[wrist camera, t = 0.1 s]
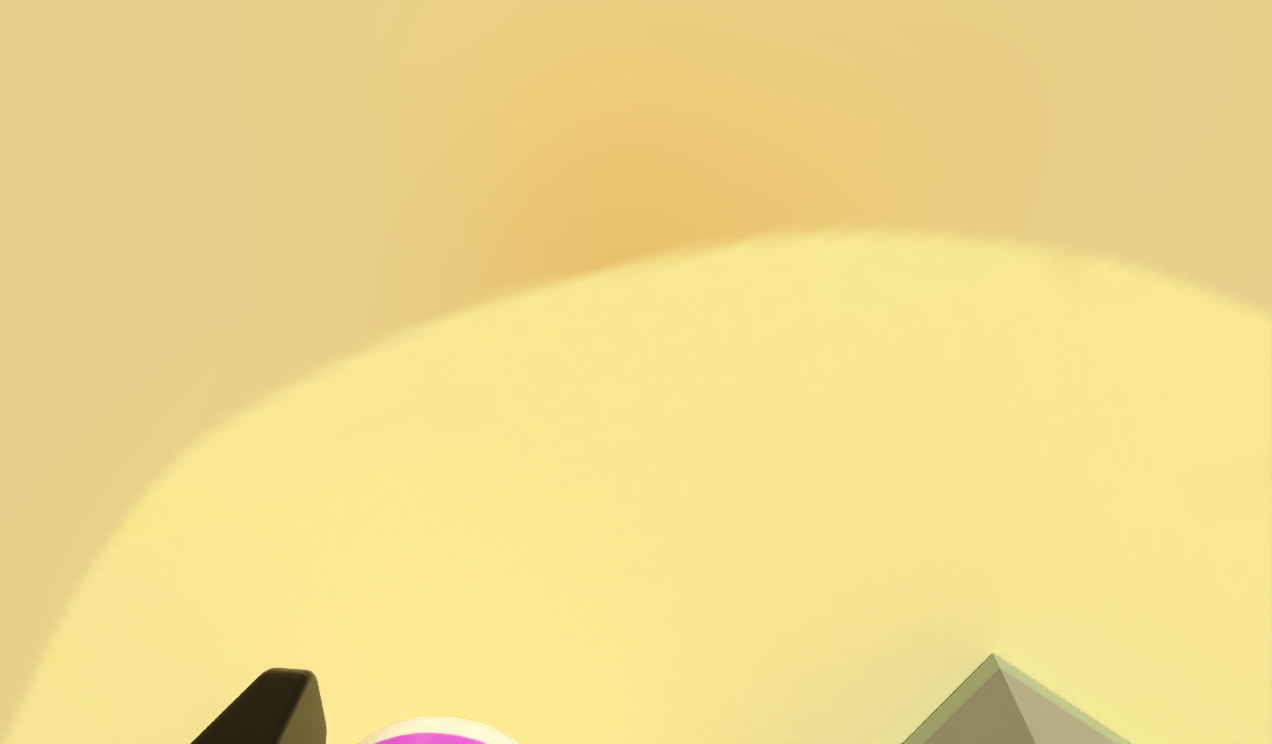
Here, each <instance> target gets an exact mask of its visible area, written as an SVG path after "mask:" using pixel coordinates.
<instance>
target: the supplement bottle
mask: <svg viewBox="0 0 1272 744" xmlns="http://www.w3.org/2000/svg"><path fill="white" fill-rule="evenodd" d="M359 744H521V743H519V742H518V741H517V740H515V739H514V738H512V737H511V736H509V735H508V734H506V733H504V732H502V731H500V730H498V729H496V728H494V727H491V726H489V725H486V724H484V723H481V722H478V721H474V720H470V719H465V718H460V717H452V716H421V717H414V718H409V719H405V720H401V721H398V722H395V723H393V724H390V725H388V726H385V727H383V728H381V729H379V730H377V731H375V732H374V733H372V734H370V735H369V736H367V737H366V738H365V739H363V740H362V741H361V742H360V743H359Z"/></svg>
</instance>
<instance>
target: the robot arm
mask: <svg viewBox="0 0 1272 744" xmlns="http://www.w3.org/2000/svg"><path fill="white" fill-rule="evenodd" d="M191 744H326V722H325V717H324V712H323V707H322V702H321V696H320V691H319V686H318V681H317V679H316V676H315V675H314V674H313V673H312V672H311V671H309V670H301V669H288V668H271V669H269V670H267V671H265V672H264V673H262V674H261V675H260V676H259V677H258V678H257V679H256V680H255V681H254V682H253V683H252V684H251V685H250V686H249V687H248V688H247V689H246V690H245V691H244V692H243V693H242V694H241V695H240V696H239V697H237V698H236V699H235V700H234V701H233V702H232V703H231V704H230V705H229V706H228V707H227V708H226V709H225V710H224V711H223V712H222V713H221V714H220V715H219V716H218V717H217V718H216V719H215V720H214V721H213V722H212V723H211V724H210V725H209V726H208V727H207V728H206V729H205V730H204V731H203V732H202V733H201V734H200V735H199V736H198V737H197V738H196V739H195V740H194V741H193V742H192V743H191Z"/></svg>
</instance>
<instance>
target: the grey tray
mask: <svg viewBox="0 0 1272 744" xmlns="http://www.w3.org/2000/svg"><path fill="white" fill-rule="evenodd" d="M903 744H1130V743H1129V742H1127V741H1126V740H1124V739H1123V738H1121V737H1120V736H1118V735H1117V734H1115V733H1113V732H1112V731H1110V730H1109V729H1107V728H1106V727H1104V726H1103V725H1101V724H1100V723H1098V722H1097V721H1095V720H1094V719H1092V718H1091V717H1089V716H1088V715H1086V714H1084V713H1083V712H1081V711H1080V710H1078V709H1077V708H1075V707H1074V706H1072V705H1071V704H1069V703H1068V702H1066V701H1065V700H1063V699H1062V698H1060V697H1059V696H1057V695H1056V694H1054V693H1052V692H1051V691H1049V690H1048V689H1046V688H1045V687H1043V686H1042V685H1040V684H1039V683H1037V682H1036V681H1034V680H1033V679H1031V678H1030V677H1028V676H1027V675H1025V674H1024V673H1022V672H1020V671H1019V670H1017V669H1016V668H1014V667H1013V666H1011V665H1010V664H1008V663H1007V662H1005V661H1004V660H1002V659H1001V658H999V657H998V656H996V655H995V654H992V655H991V656H990V657H989V658H988V659H987V660H986V661H985V662H984V663H983V664H982V665H981V666H980V667H979V668H978V669H977V670H976V671H975V672H974V673H973V674H972V675H971V676H970V677H969V678H968V679H967V680H966V681H965V682H964V683H963V684H962V685H961V686H960V687H959V688H958V689H957V690H956V691H955V692H954V693H953V694H952V695H951V696H950V697H949V698H948V699H947V700H946V701H945V702H944V703H943V704H942V705H941V706H940V707H939V708H938V709H937V710H936V711H935V712H934V713H933V714H932V715H931V716H930V717H929V718H928V719H927V720H926V721H925V722H924V723H923V724H922V725H921V726H920V727H919V728H918V729H917V730H916V731H915V732H914V733H913V734H912V735H911V736H910V737H909V738H908V739H907V740H906V741H905V742H904V743H903Z"/></svg>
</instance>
